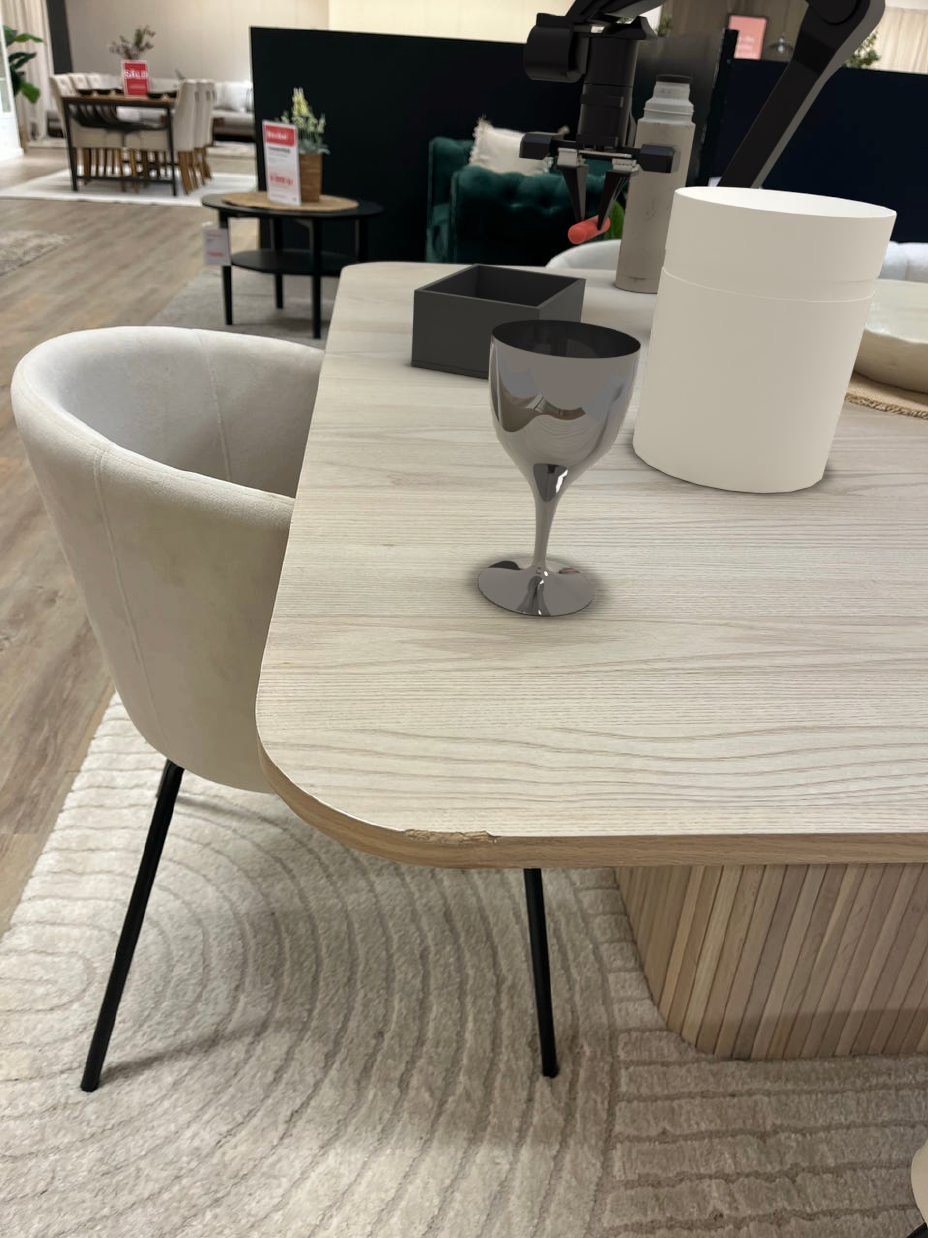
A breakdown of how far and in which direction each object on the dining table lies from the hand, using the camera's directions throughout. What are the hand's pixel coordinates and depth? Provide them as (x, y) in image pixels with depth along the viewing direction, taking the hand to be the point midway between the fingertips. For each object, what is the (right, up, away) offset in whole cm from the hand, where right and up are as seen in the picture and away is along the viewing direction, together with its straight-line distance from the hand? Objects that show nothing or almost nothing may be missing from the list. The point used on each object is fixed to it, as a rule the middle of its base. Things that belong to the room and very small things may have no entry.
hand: (589, 228), depth 116 cm
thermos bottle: (+11, +2, +25) cm, 28 cm away
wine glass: (-11, -47, -59) cm, 76 cm away
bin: (-12, -20, -14) cm, 27 cm away
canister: (+7, -35, -37) cm, 51 cm away
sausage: (0, -1, +1) cm, 1 cm away
